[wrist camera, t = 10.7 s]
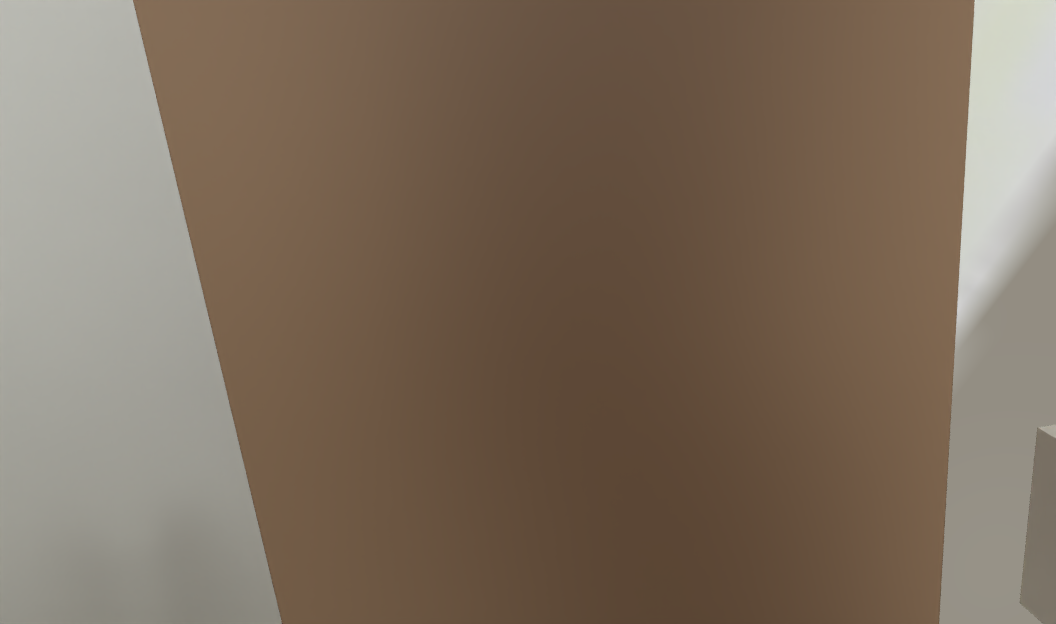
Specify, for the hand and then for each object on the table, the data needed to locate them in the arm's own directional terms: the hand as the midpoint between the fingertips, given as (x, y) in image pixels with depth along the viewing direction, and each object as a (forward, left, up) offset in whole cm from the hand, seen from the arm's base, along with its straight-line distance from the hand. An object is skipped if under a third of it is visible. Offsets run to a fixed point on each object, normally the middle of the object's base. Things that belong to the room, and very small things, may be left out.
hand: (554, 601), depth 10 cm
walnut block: (0, +5, -4) cm, 7 cm away
